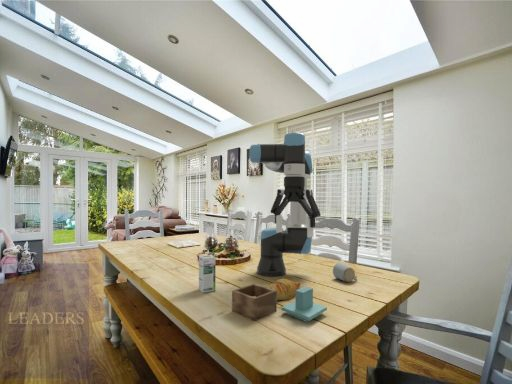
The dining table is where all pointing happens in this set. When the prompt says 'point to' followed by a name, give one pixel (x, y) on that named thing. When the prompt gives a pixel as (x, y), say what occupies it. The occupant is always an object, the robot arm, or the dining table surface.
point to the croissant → (285, 288)
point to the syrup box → (207, 273)
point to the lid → (304, 305)
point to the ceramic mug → (344, 272)
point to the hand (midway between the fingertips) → (294, 234)
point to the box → (254, 301)
